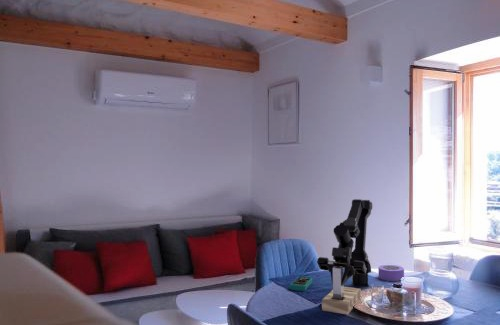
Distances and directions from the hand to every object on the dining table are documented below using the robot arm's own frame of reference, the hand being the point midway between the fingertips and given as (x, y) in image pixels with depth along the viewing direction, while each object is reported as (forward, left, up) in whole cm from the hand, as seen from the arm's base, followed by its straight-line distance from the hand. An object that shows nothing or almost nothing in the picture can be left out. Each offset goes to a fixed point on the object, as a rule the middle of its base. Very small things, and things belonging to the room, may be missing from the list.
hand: (337, 284), depth 163 cm
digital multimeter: (+13, -30, -10) cm, 34 cm away
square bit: (-1, -1, -7) cm, 7 cm away
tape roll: (-31, -44, -10) cm, 55 cm away
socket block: (-3, -6, -9) cm, 11 cm away
